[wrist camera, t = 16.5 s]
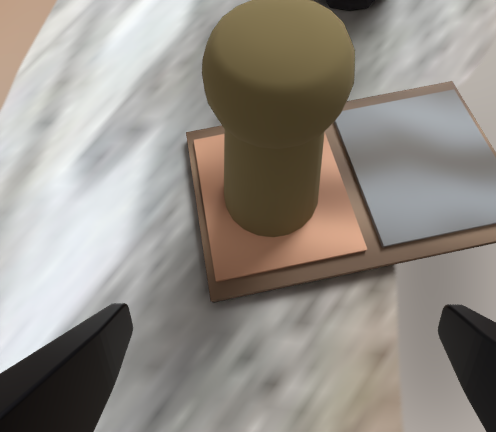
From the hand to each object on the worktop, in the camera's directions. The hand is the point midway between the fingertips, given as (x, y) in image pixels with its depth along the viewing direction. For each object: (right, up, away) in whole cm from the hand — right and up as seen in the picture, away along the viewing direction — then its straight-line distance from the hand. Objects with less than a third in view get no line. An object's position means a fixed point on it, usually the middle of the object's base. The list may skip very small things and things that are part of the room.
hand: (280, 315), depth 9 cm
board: (+6, +5, +12) cm, 14 cm away
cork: (0, +4, +11) cm, 12 cm away
